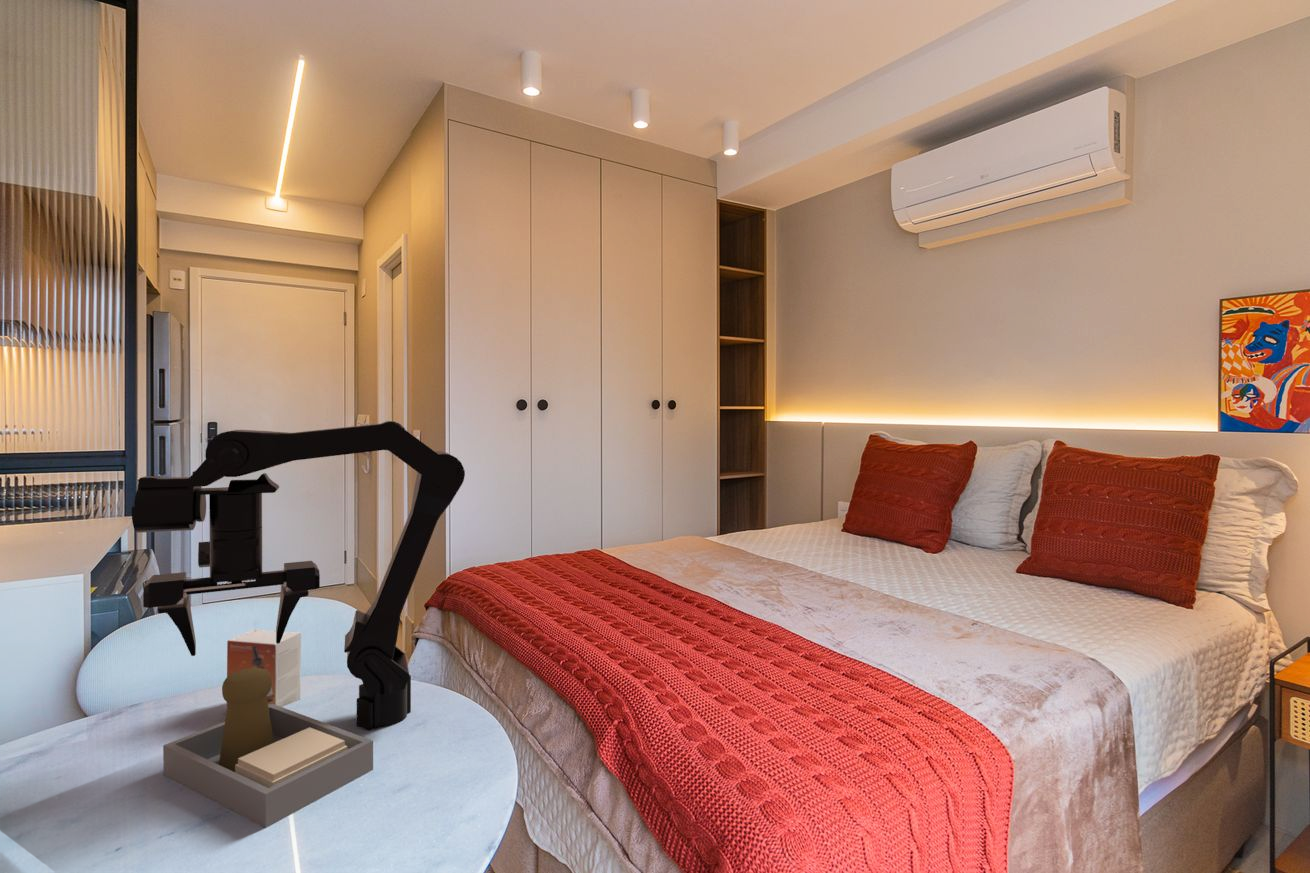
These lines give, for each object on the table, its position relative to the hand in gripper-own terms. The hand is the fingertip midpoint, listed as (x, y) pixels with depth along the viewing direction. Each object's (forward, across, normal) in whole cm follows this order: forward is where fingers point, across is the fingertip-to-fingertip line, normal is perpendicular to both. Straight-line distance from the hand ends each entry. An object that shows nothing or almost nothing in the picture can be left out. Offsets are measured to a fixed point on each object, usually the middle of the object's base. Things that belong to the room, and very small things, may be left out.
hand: (236, 648), depth 86 cm
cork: (+12, -1, +6) cm, 14 cm away
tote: (+13, -3, +11) cm, 17 cm away
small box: (+13, -3, -12) cm, 18 cm away
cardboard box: (+12, -5, +15) cm, 20 cm away
